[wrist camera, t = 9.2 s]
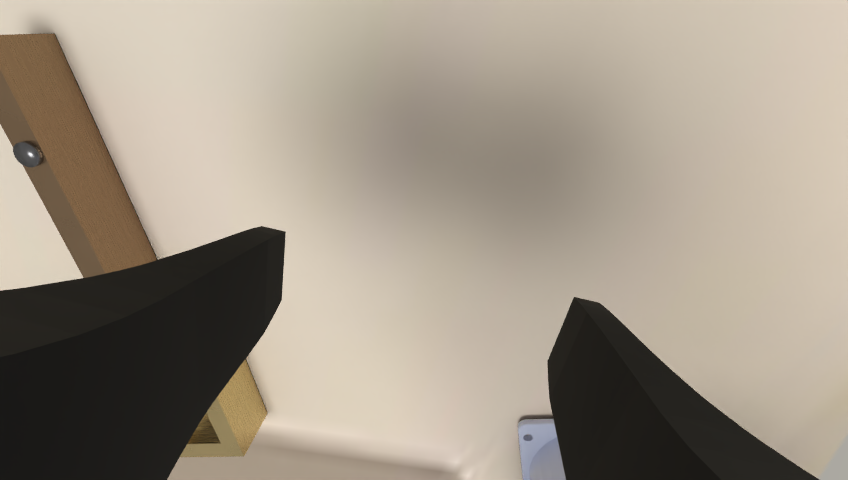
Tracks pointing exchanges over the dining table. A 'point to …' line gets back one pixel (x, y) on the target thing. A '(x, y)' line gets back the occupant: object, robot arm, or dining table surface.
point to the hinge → (97, 205)
